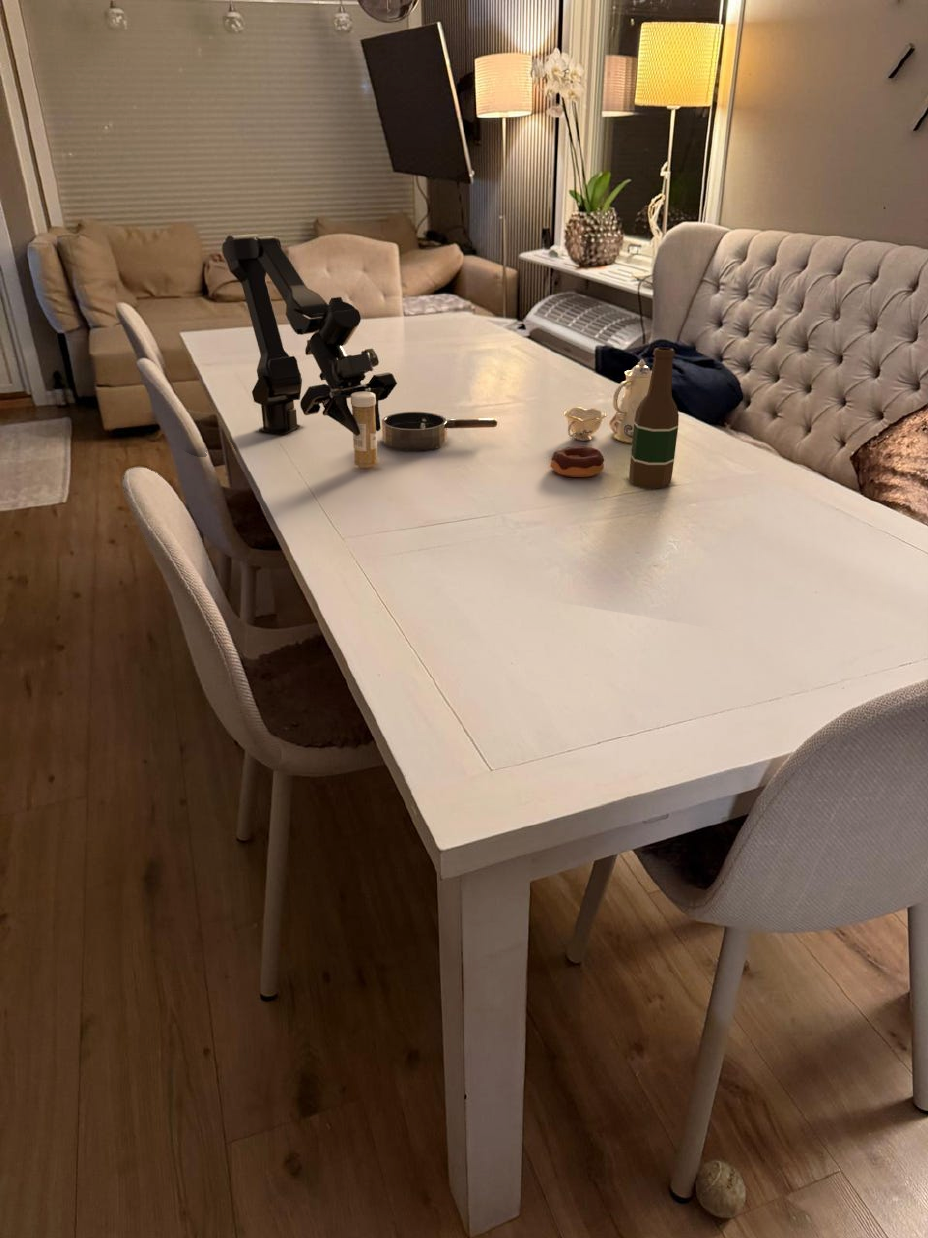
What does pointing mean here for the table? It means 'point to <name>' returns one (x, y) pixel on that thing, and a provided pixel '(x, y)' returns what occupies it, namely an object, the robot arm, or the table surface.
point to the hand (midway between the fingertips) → (368, 432)
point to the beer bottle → (655, 427)
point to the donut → (577, 461)
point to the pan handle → (471, 423)
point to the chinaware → (624, 418)
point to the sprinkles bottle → (364, 429)
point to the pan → (414, 431)
